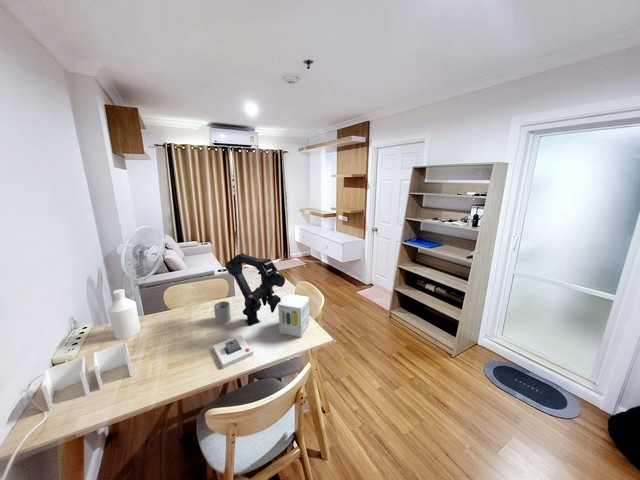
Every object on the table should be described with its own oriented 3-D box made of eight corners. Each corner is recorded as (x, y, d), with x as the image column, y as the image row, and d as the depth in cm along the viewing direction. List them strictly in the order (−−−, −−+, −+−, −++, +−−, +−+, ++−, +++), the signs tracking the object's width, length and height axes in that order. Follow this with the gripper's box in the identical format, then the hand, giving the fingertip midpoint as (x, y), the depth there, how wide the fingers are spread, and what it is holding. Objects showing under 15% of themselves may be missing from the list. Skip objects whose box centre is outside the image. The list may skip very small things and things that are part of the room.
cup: (233, 318, 150) (232, 303, 147) (222, 325, 143) (220, 310, 140) (224, 314, 154) (223, 300, 151) (212, 321, 147) (210, 305, 145)
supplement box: (278, 333, 136) (277, 304, 132) (288, 320, 148) (287, 293, 144) (301, 337, 132) (300, 308, 128) (309, 324, 144) (309, 296, 140)
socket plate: (213, 349, 124) (212, 344, 123) (241, 338, 132) (240, 334, 131) (223, 368, 111) (222, 363, 111) (253, 355, 120) (252, 350, 119)
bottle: (141, 324, 144) (133, 284, 138) (141, 334, 135) (132, 292, 128) (115, 331, 138) (105, 289, 132) (113, 342, 129) (102, 298, 122)
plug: (226, 351, 122) (225, 341, 120) (236, 346, 125) (235, 337, 123) (229, 356, 118) (228, 346, 117) (239, 351, 121) (239, 341, 120)
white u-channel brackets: (130, 362, 116) (126, 341, 113) (133, 376, 108) (128, 354, 105) (53, 392, 100) (45, 369, 97) (49, 411, 92) (41, 386, 89)
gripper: (245, 280, 136) (247, 306, 140) (260, 293, 122) (262, 321, 126) (264, 275, 143) (266, 300, 147) (280, 287, 128) (281, 314, 132)
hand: (268, 308), depth 138 cm, fingers open, 9 cm apart
